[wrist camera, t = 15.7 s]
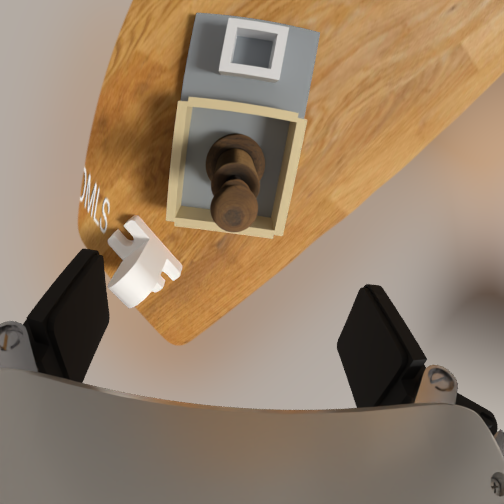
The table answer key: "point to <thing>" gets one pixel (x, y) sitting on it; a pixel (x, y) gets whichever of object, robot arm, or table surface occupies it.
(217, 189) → the brown pepper mill
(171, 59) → the table surface
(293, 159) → the socket board
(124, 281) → the cable organizer
